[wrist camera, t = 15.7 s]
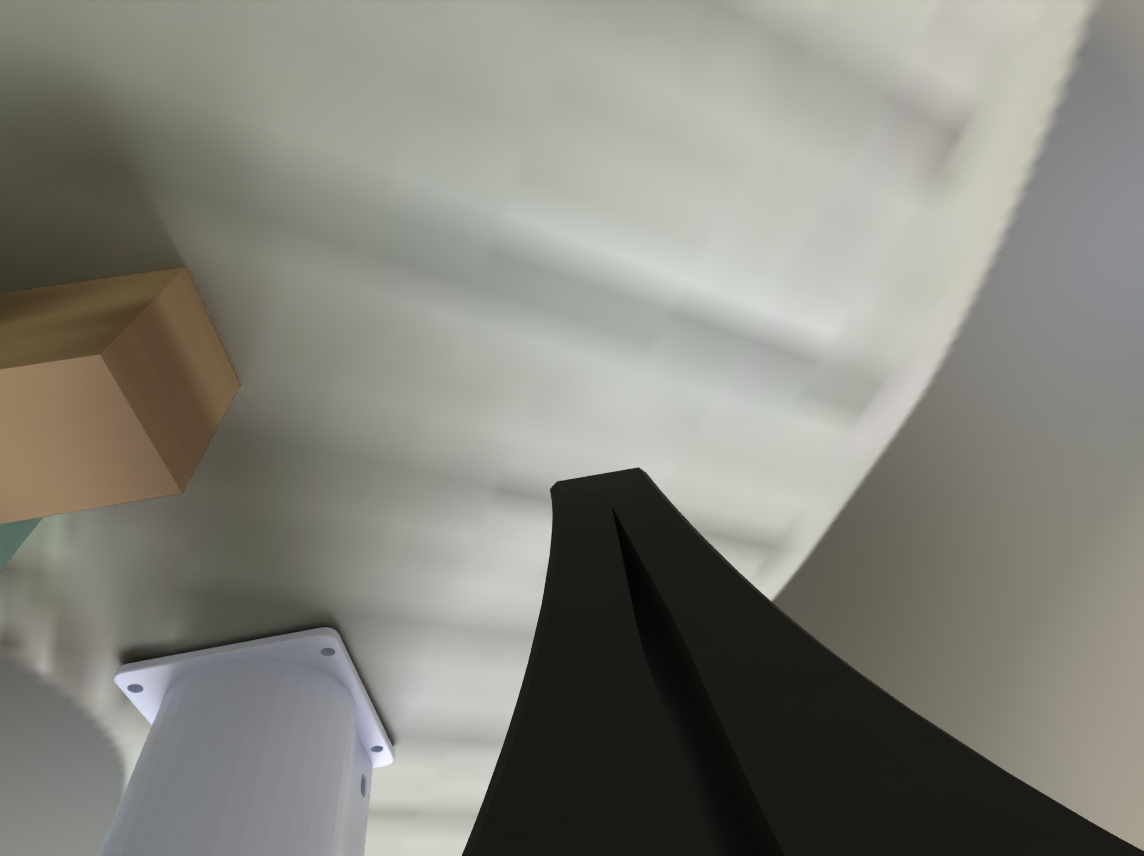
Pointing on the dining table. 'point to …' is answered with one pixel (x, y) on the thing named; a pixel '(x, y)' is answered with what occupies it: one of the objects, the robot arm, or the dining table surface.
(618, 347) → the dining table surface
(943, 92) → the dining table surface
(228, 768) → the robot arm
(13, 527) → the pale green notched block
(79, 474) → the tall tan wooden block
